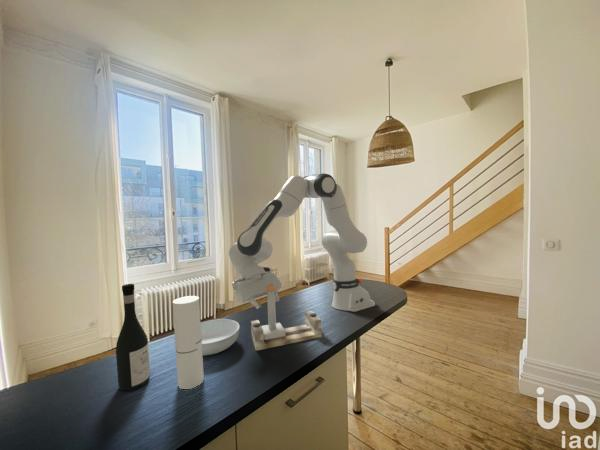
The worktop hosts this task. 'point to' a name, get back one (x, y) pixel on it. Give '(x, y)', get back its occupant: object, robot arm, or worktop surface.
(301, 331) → the rail
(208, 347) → the serving bowl
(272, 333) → the carriage
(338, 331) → the worktop surface
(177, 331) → the cylindrical container
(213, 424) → the worktop surface
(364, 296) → the robot arm
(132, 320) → the wine bottle
